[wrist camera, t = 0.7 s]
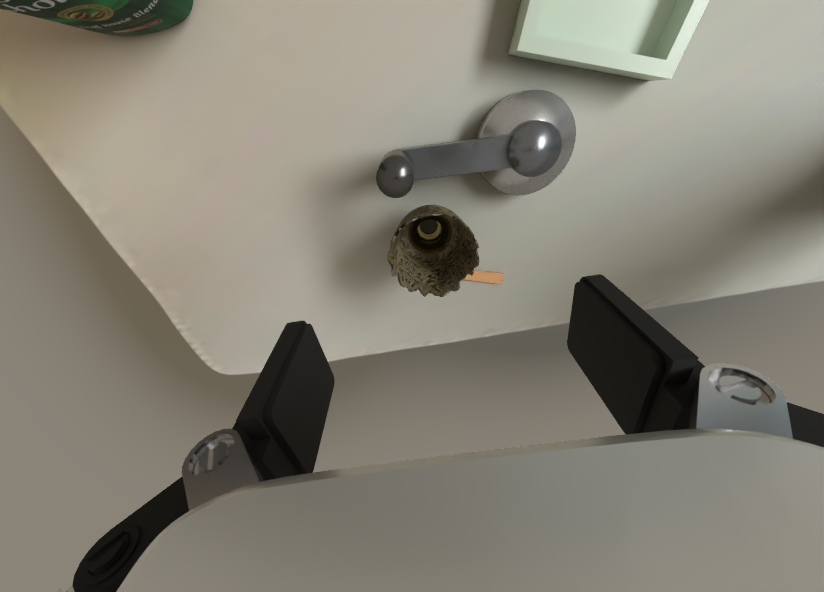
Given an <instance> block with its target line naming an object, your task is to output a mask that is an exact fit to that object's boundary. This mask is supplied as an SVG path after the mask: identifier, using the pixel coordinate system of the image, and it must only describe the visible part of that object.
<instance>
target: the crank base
mask: <svg viewBox="0 0 824 592" xmlns="http://www.w3.org/2000/svg"><path fill="white" fill-rule="evenodd" d="M528 120H539V121H545V122H549V123H551V124H553V125H554V126H555V127H556V128H557V129H558V130H559V132H560V135H561V139H562V148H561V152H560V155H559V157H558V159H557V161H556V163H555V164H554V165H553V166H552V167H551V168H550V169H549V170H548V171H547V172H545V173H544V174H542V175H539V176H536V177H525V176H522V175H520V174H518V173H517V172H515V171H514V170H512V169H511V168H507V169H499V170H491V171H483V172H481V173H482V175H483V176H484V177H485V178H486V180H487V181H488V182H489V183H490V184H491V185H492V186H494V187H495V188H496V189H498V190H499V191H501V192H504V193H506V194H511V195H525V194H530V193H533V192H536V191H538V190H540V189H542V188H544V187H545V186H547V185H548V184H550V183H551V182H552V181H553V180H554V179H555V178H556V177H557V176H558V175H559V174H560V173H561V172H562V170H563V169H564V168H565V166H566V164H567V163H568V161H569V159H570V156H571V154H572V151H573V148H574V144H575V136H576V127H575V121H574V117H573V114H572V112H571V110H570V108H569V107H568V105H567V104H566V103H565V102H564V101H563V100H562V99H561V98H560V97H558V96H557V95H555V94H553V93H551V92H548V91H543V90H530V91H521V92H517V93H514V94H511V95H509V96H507V97H505V98H504V99H502V100H501V101H499V102H498V103H497V104H496V105H495V106H494V107H493V108H492V109H491V110H490V111H489V112H488V113H487V115H486V116H485V118H484V120H483V121H482V123H481V125H480V128H479V130H478V133H477V137H476V138H484V137H491V136H499V135H506V134H510V133H511V131H512V130H513V129H514V128H515V127H516V126H518V125H519V124H521V123H523V122H525V121H528Z"/></svg>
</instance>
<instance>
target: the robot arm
mask: <svg viewBox="0 0 824 592" xmlns="http://www.w3.org/2000/svg"><path fill="white" fill-rule="evenodd" d="M567 345H568V349H569V351H570V353H571V354H572V356H573V357H574V359H575V360H576V362H577V363H578V365H579V366H580V367H581V369H582V371H583V372H584V374H585V375H586V376H587V378H588V379H589V381H590V382H591V384H592V385H593V387H594V388H595V390H596V391H597V393H598V394H599V396H600V397H601V399H602V400H603V402H604V403H605V405H606V406H607V408H608V409H609V411H610V412H611V414H612V415H613V417H614V418H615V420H616V421H617V423H618V424H619V426H620V427H621V428H622V430H623V431H624V433H625V434H626V435H617V436H607V437H598V438H589V439H581V440H572V441H564V442H555V443H546V444H538V445H530V446H520V447H512V448H504V449H496V450H488V451H479V452H471V453H463V454H454V455H447V456H438V457H430V458H423V459H414V460H406V461H398V462H390V463H382V464H374V465H367V466H359V467H351V468H344V469H336V470H328V471H323V472H315V473H312V472H313V470H314V466H315V462H316V458H317V454H318V450H319V445H320V441H321V437H322V433H323V429H324V425H325V420H326V416H327V412H328V408H329V403H330V399H331V396H332V391H333V387H334V376H333V373H332V371H331V369H330V366H329V364H328V362H327V359H326V357H325V355H324V352H323V350H322V348H321V346H320V343H319V341H318V339H317V336H316V334H315V332H314V330H313V327H312V325H311V324H307V323H306V322H305V321H298V322H291V323H287V324H286V326H285V328H284V330H283V332H282V334H281V335H280V337H279V339H278V341H277V343H276V345H275V347H274V349H273V351H272V353H271V355H270V356H269V358H268V360H267V362H266V364H265V366H264V368H263V370H262V372H261V374H260V376H259V378H258V379H257V381H256V383H255V385H254V387H253V389H252V391H251V393H250V395H249V397H248V399H247V400H246V402H245V404H244V406H243V408H242V410H241V412H240V414H239V416H238V418H237V420H236V423H235V425H234V427H233V429H223V430H220V431H216V432H214V433H212V434H210V435H208V436H207V437H205V438H204V439H203V440H201V441H200V442H199V443H198V444H197V445H196V446H195V447H194V448H193V449H192V450H191V451H190V453H189V454H188V456H187V457H186V459H185V461H184V463H183V466H182V477H181V478H180V479H178V480H177V481H176V482H174V483H173V484H171V485H170V486H169V487H167V488H166V489H165V490H163V491H162V492H161V493H159V494H158V495H157V496H156V497H154V498H153V499H152V500H150V501H149V502H147V503H146V504H145V505H143V506H142V507H141V508H139V509H138V510H137V511H135V512H134V513H133V514H132V515H130V516H128V517H127V518H126V519H124V520H123V521H122V522H120V523H119V524H118V525H116V526H115V527H114V528H112V529H111V530H110V531H109V532H107V533H106V534H105V535H104V536H103V537H102V538H101V539H99V540H98V541H97V542H96V544H95V545H94V546H93V547H92V548H91V549H90V550H89V551H88V553H87V554H86V555H85V557H84V558H83V560H82V561H81V563H80V564H79V567H78V569H77V571H76V573H75V575H74V580H73V585H72V586H71V587H70V588H69V589H68V590H67V591H65V590H62V589H60V590H59V591H58V592H824V414H821V413H818V412H815V411H812V410H809V409H806V408H803V407H800V406H797V405H794V404H791V403H788V402H786V397H785V395H784V393H783V391H782V390H781V389H780V388H779V387H778V386H777V384H776V383H774V382H772V381H771V380H770V379H768V378H767V377H765V376H764V375H762V374H760V373H758V372H756V371H754V370H751V369H748V368H745V367H741V366H738V365H733V364H727V363H725V364H723V363H715V364H711V365H707V366H706V367H705V366H704V365H703V364H702V363H700V362H699V361H698V357H697V356H696V355H695V354H694V353H693V352H691V351H690V350H689V349H688V348H687V347H686V346H684V345H683V344H682V343H681V342H680V341H679V340H677V339H676V338H675V337H674V336H673V335H672V334H670V333H669V332H668V331H667V330H666V329H665V328H664V327H662V326H661V325H660V324H659V323H658V322H656V321H655V320H654V319H653V318H652V317H651V316H650V315H648V314H647V313H646V312H645V311H644V310H643V309H641V308H640V307H639V306H638V305H637V304H636V303H634V302H633V301H632V300H631V299H630V298H629V297H627V296H626V295H625V294H624V293H623V292H622V291H620V290H619V289H618V288H617V287H616V286H615V285H614V284H612V283H611V282H610V281H609V280H608V279H607V278H605V277H604V276H603V275H593V276H586V277H582V278H581V279H580V282H577V283H576V284H575V289H574V296H573V303H572V311H571V318H570V326H569V333H568V340H567Z"/></svg>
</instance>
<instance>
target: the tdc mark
mask: <svg viewBox="0 0 824 592" xmlns="http://www.w3.org/2000/svg"><path fill="white" fill-rule="evenodd" d="M503 276H504V274H502V273H494V272H486V271H478V270H474V274H473V275H472V276H471V275H470V274H467V276H466V278H465V279H464V280H472V281H480V282H488V283H496V284H501V282H502V279H503Z"/></svg>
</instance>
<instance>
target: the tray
mask: <svg viewBox="0 0 824 592" xmlns="http://www.w3.org/2000/svg"><path fill="white" fill-rule="evenodd" d="M708 2H709V0H521V3H520V7H519V12H518V16H517V20H516V24H515V28H514V32H513V36H512V40H511V44H510V48H509V52H508V55H512V56H517V57H523V58H528V59H533V60H539V61H544V62H550V63H555V64H560V65H566V66H571V67H577V68H582V69H587V70H593V71H598V72H603V73H609V74H614V75H620V76H625V77H630V78H636V79H641V80H647V81H654V80H665V79H671V78H672V76H673V74H674V72H675V69H676V67H677V65H678V63H679V61H680V59H681V57H682V55H683V53H684V51H685V49H686V47H687V45H688V43H689V41H690V39H691V37H692V35H693V32H694V30H695V28H696V26H697V24H698V22H699V20H700V18H701V16H702V14H703V12H704V10H705V8H706V6H707V4H708Z"/></svg>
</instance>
